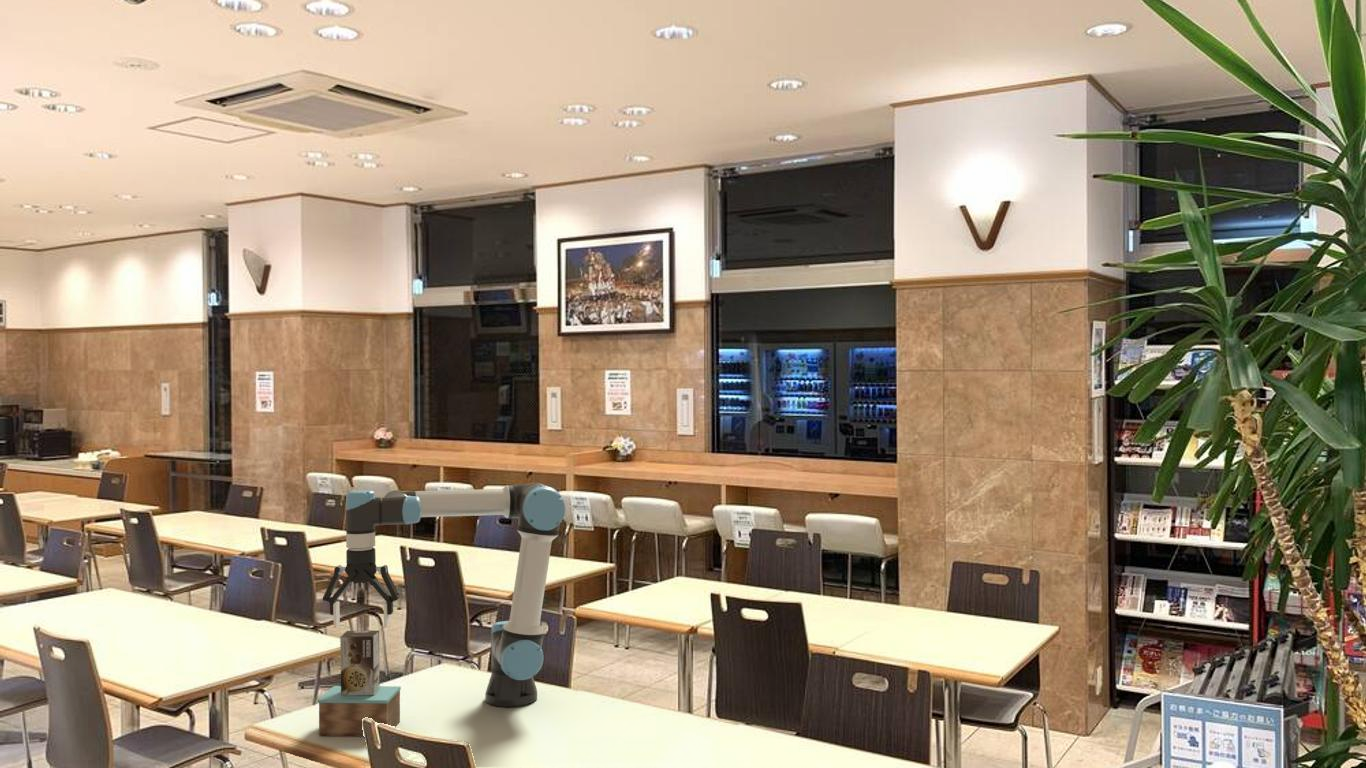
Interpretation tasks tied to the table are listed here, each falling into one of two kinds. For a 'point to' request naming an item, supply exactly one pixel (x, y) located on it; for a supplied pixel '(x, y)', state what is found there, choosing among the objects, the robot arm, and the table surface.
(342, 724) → the box
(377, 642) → the coffee box
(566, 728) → the table surface
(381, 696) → the lid
